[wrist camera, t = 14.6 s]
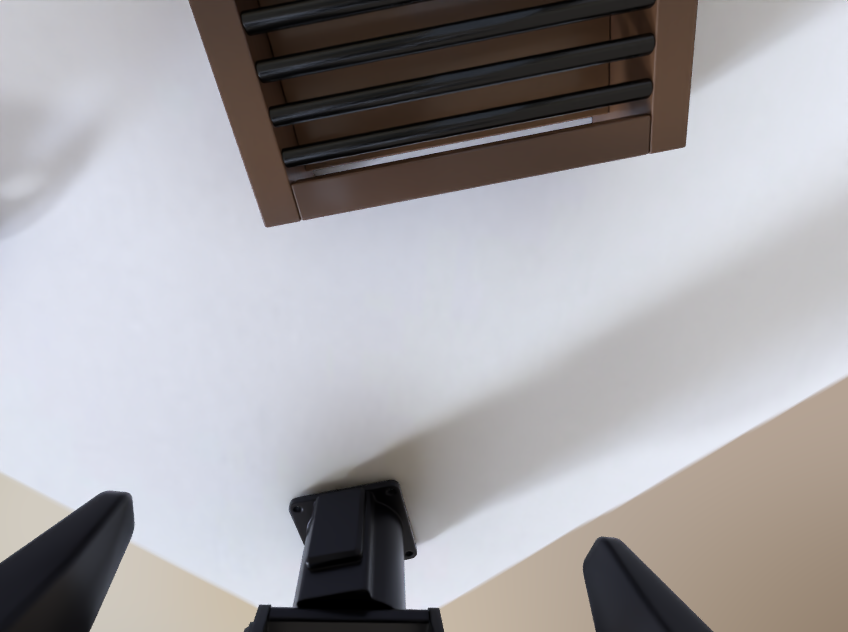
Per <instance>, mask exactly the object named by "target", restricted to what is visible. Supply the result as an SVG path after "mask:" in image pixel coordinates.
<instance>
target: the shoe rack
mask: <svg viewBox="0 0 848 632" xmlns="http://www.w3.org/2000/svg"><path fill="white" fill-rule="evenodd" d="M188 1H189V3H190V6H191V9H192V12H193V15H194V18H195V21H196V24H197V27H198V30H199V33H200V36H201V39H202V42H203V45H204V48H205V51H206V54H207V57H208V60H209V62H210V65H211V68H212V71H213V74H214V77H215V80H216V83H217V86H218V89H219V92H220V95H221V98H222V101H223V104H224V107H225V110H226V113H227V116H228V119H229V121H230V124H231V127H232V130H233V133H234V136H235V139H236V142H237V145H238V148H239V151H240V154H241V157H242V160H243V163H244V166H245V169H246V172H247V175H248V178H249V180H250V183H251V186H252V189H253V192H254V195H255V198H256V201H257V204H258V207H259V210H260V213H261V216H262V219H263V222H264V225H265V227H272V226H278V225H283V224H288V223H293V222H298V221H301V219H302V220H308V219H313V218H318V217H324V216H329V215H334V214H339V213H344V212H350V211H355V210H360V209H365V208H370V207H376V206H381V205H386V204H391V203H396V202H402V201H407V200H412V199H417V198H422V197H428V196H433V195H438V194H443V193H449V192H454V191H459V190H464V189H469V188H475V187H480V186H485V185H490V184H495V183H501V182H506V181H511V180H516V179H521V178H527V177H532V176H537V175H542V174H547V173H553V172H558V171H563V170H568V169H573V168H579V167H584V166H589V165H594V164H599V163H605V162H610V161H615V160H620V159H625V158H631V157H636V156H641V155H646V154H648V153H650V154H652V153H657V152H663V151H668V150H673V149H678V148H683V147H685V146H686V136H687V124H688V112H689V100H690V88H691V77H692V65H693V53H694V41H695V29H696V18H697V6H698V0H188ZM588 117H592V123H590V124H585V125H579V126H574V127H569V128H564V129H559V130H553V131H548V132H543V133H538V134H533V135H528V136H522V137H517V138H512V139H507V140H502V141H496V142H491V143H486V144H481V145H476V146H471V147H465V148H460V149H455V150H450V151H445V152H439V153H434V154H429V155H424V156H419V157H414V158H408V159H403V160H398V161H393V162H388V163H382V164H377V165H372V166H367V167H362V168H357V169H351V170H346V171H341V172H336V173H331V174H325V175H320V176H314V173H313V171H314V170H319V169H324V168H329V167H334V166H339V165H345V164H350V163H355V162H360V161H365V160H371V159H376V158H381V157H386V156H391V155H396V154H402V153H407V152H412V151H417V150H422V149H428V148H433V147H438V146H443V145H448V144H453V143H459V142H464V141H469V140H474V139H479V138H484V137H490V136H495V135H500V134H505V133H510V132H516V131H521V130H526V129H531V128H536V127H541V126H547V125H552V124H557V123H562V122H567V121H573V120H578V119H583V118H588Z"/></svg>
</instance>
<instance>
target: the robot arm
mask: <svg viewBox="0 0 848 632" xmlns="http://www.w3.org/2000/svg"><path fill="white" fill-rule="evenodd" d="M389 489H392V490H389ZM297 506H299V507H297ZM289 512H290V514H291V516H292V519H293V521H294V523H295V525H296V528H297V530H298V532H299V534H300V537H301V539H302V541H303V543H304V551H303V556H302V562H301V567H300V572H299V577H298V582H297V588H296V593H295V598H294V603H293V607H271V605H259V607H258V610H257V613H256V616H255V619H254V622H250V624H249V627H247V628H246V629H245V630H244V632H444V629H443V624H442V620H441V614H440V610H439V608H428V610H412V609H406V602H405V573H404V560H407V559H411V558H414V557H415V556H416V555H417V548H416V543H415V540H414V536H413V532H412V529H411V525H410V521H409V518H408V514H407V510H406V507H405V503H404V499H403V496H402V492H401V488H400V485H399V483H398V482H397V481H394V480H388V481H383V482H378V483H372V484H367V485H362V486H356V487H351V488H345V489H340V490H335V491H329V492H324V493H319V494H313V495H308V496H303V497H297V498H294V499H292V500H291V502H290V505H289ZM133 530H134V512H133V501H132V496H131V494H130V493H127V492H118V491H104V492H102V493H100V494H98V495H97V496H95V497H94V498H93V499H91V500H90V501H88V502H87V503H85V504H84V505H83V506H81V507H80V508H78V509H77V510H75V511H74V512H73V513H71V514H70V515H68V516H67V517H65V518H64V519H63V520H61V521H60V522H58V523H57V524H55V525H54V526H53V527H51V528H50V529H48V530H47V531H45V532H44V533H43V534H41V535H40V536H38V537H37V538H35V539H34V540H33V541H31V542H30V543H28V544H27V545H26V546H24V547H22V548H21V549H20V550H18V551H17V552H15V553H14V554H12V555H11V556H10V557H8V558H7V559H5V560H4V561H2V562H1V563H0V632H89V631H90V629H91V627H92V625H93V623H94V621H95V618H96V616H97V614H98V611H99V609H100V607H101V605H102V602H103V600H104V598H105V596H106V594H107V591H108V589H109V587H110V584H111V582H112V580H113V578H114V576H115V573H116V571H117V569H118V566H119V564H120V562H121V559H122V557H123V555H124V553H125V551H126V548H127V546H128V544H129V542H130V539H131V537H132V534H133ZM583 573H584V579H585V584H586V588H587V593H588V597H589V602H590V607H591V611H592V616H593V620H594V625H595V630H596V632H713V631H712V630H711V629H710V628H709V627H708V626H707V625H706V624H705V623H704V622H703V621H702V620H701V619H700V618H699V617H698V616H697V615H696V614H695V613H694V612H693V611H692V610H691V609H690V608H689V607H688V606H687V605H686V604H685V603H684V602H683V601H682V600H681V599H680V598H679V597H678V596H677V595H676V594H674V592H673V591H671V589H670V588H668V586H667V585H666V584H665V583H664V582H662V581H661V579H660V578H659V577H658V576H656V574H654V573H653V572H652V571H651V569H649V568H648V567H647V566H646V565H645V564H644V563H643V562H642V561H641V560H640V559H639V558H638V557H637V556H636V555H635V554H634V553H633V552H632V551H631V550H630V549H629V548H628V547H627V546H626V545H625V544H624V543H623V542H622V541H621V540H619V539H617V538H611V537H599V538H597V540H596V541H595V543H594V545H593V546H592V548H591V550H590V551H589V553H588V554H587V556H586V558H585V560H584V563H583Z"/></svg>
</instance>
